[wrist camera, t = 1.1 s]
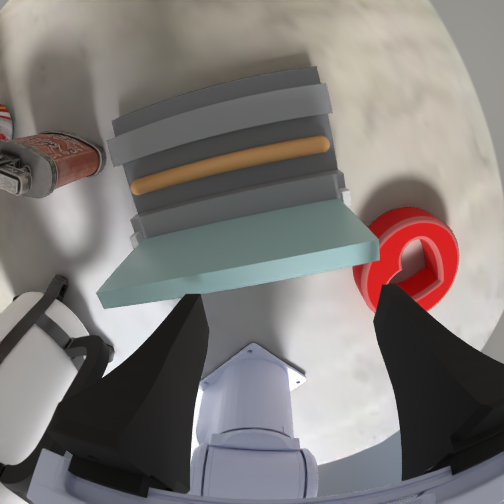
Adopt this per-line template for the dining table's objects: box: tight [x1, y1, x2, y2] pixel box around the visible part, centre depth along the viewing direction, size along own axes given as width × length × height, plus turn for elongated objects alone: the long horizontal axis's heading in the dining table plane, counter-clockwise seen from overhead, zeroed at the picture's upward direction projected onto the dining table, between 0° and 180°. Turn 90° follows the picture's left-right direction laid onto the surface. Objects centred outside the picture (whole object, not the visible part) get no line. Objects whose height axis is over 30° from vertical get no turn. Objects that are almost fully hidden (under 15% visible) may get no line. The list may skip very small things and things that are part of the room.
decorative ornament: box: [353, 207, 459, 313], centre depth 23 cm, size 10×10×3 cm
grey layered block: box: [107, 66, 352, 249], centre depth 19 cm, size 11×15×4 cm
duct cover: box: [96, 198, 380, 309], centre depth 16 cm, size 7×14×1 cm
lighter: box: [0, 131, 106, 198], centre depth 16 cm, size 8×3×10 cm, turn 69°
